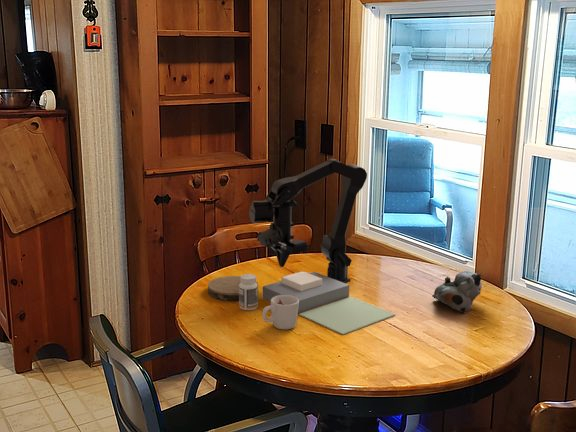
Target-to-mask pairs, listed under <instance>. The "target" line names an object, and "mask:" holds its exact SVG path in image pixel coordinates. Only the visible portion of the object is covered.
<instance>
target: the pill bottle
mask: <svg viewBox="0 0 576 432" xmlns="http://www.w3.org/2000/svg"><path fill="white" fill-rule="evenodd" d="M240 280H241V283H240V284H239V301H238V305H239V306H238V308H240V309H241V310H244V311H254V310H257V309H258V306H259V296H258V295H259V284H258V285H257V283H258V282H257V276H256V275H255V274H252V273H244V274H241V277H240ZM255 281H256V282H257V283H256V282H255Z"/></svg>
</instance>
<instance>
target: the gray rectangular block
mask: <svg viewBox="0 0 576 432" xmlns="http://www.w3.org/2000/svg"><path fill="white" fill-rule="evenodd" d="M308 273H309V274H312V275H314V276H317V277H319V278H322V285H320V286H316V287H313V288H310V289H307V290H303V291H299V290H297V289H295V288H292V287H290V286H288V285H285V284H283V283H282V280H280V281H277V282H273V283H270V284H266V285H264V286H262V299H264V300H265V301H268V302H269V303H271V299H272V298H273V297H275V296H278V295H290V296H294V297H296V298H298V299H299V307H298V314H300V313H303V312H306V311H309V310H312V309H315V308H318V307H321V306H325V305H328V304H331V303H334V302H337V301H340V300H343V299H346V298H349V297H350V284H349V283H346V282H344V283H343V282H340V281H337V280H335V279H332V278H330V277H327V275H324V274H321V273H318V272H316V271H312V272H308Z"/></svg>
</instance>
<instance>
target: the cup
mask: <svg viewBox="0 0 576 432" xmlns="http://www.w3.org/2000/svg"><path fill="white" fill-rule="evenodd" d="M298 307H299V299H298V298H296V297H294V296H290V295H278V296H275V297H273V298H272V299H271V302H270V305H267V306H264V308H263V310H262V313H261V314H262V319H263V321H264V322H266V323H272V325H273V326H274V327H275V328H277V329H280V330H283V331H284V330H286V331H287V330H291V329H293V328H295V326H296V325H297V320H298ZM268 311H270V312H271V313H270V317H269V318H268V317H267V312H268Z"/></svg>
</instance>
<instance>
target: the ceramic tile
mask: <svg viewBox="0 0 576 432" xmlns="http://www.w3.org/2000/svg"><path fill="white" fill-rule="evenodd" d="M309 273H310V272H306V271H302V270H301V271H299V272H294V273H291V274H288V275H284V276H282V277H281V281H282V283H283V284H285V285H288V286H290V287H292V288H295V289H297V290H299V291H303V290H307V289H310V288H313V287H316V286H320V285H322V278H319V277H317V276H314V275H312V274H309Z"/></svg>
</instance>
